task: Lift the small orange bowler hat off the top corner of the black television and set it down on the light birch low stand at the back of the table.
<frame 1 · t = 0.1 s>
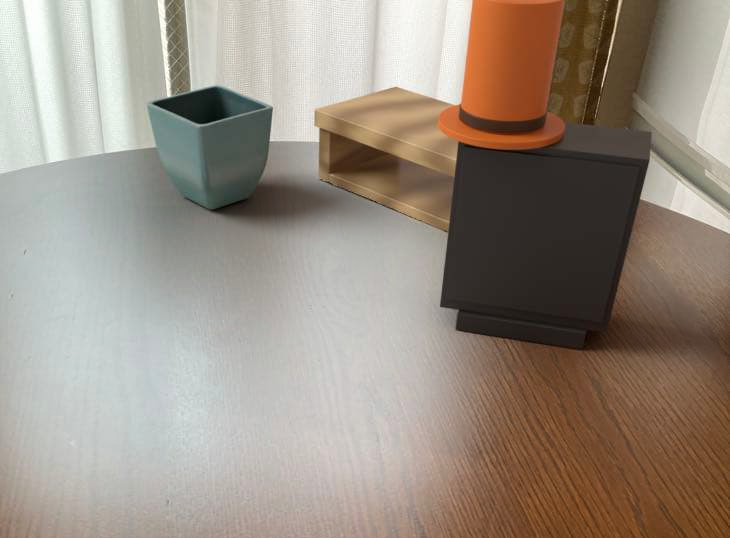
stand: (429, 195, 94), on the table
hat: (500, 128, 66), point 14 cm above the table, touching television
flower pot: (215, 200, 93), on the table
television: (523, 319, 75), on the table
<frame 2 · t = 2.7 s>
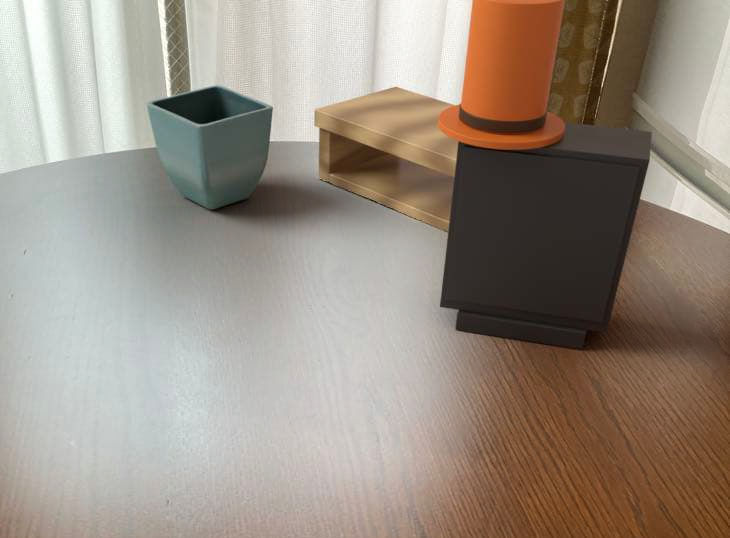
nothing on the table moved.
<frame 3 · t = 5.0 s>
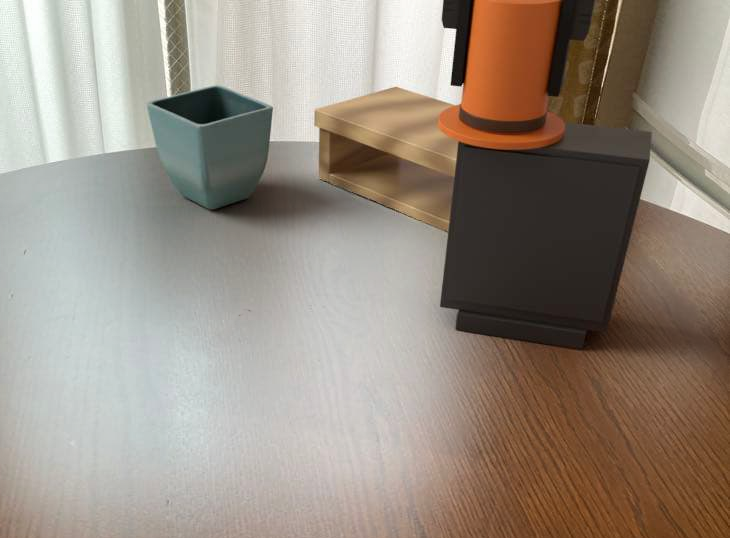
hand: (506, 84, 64), 17 cm above the table, tool pointing down, fingers closed on hat, 6 cm apart
hat: (500, 128, 66), point 15 cm above the table, touching gripper, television
everything else where it was.
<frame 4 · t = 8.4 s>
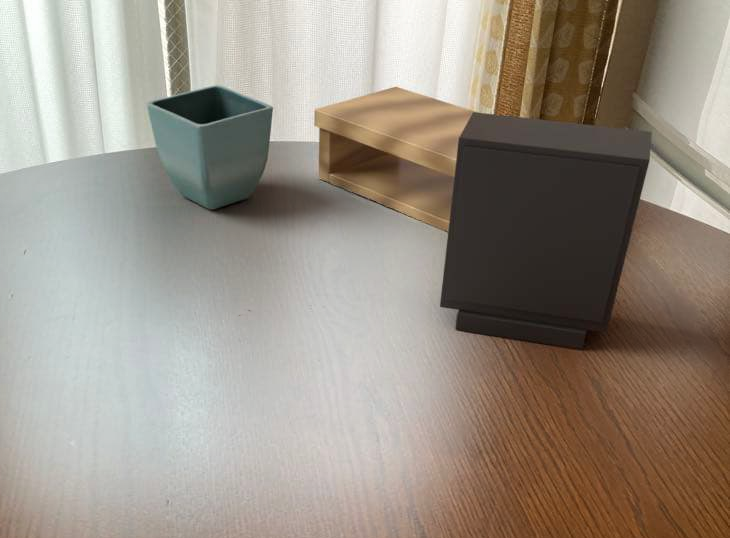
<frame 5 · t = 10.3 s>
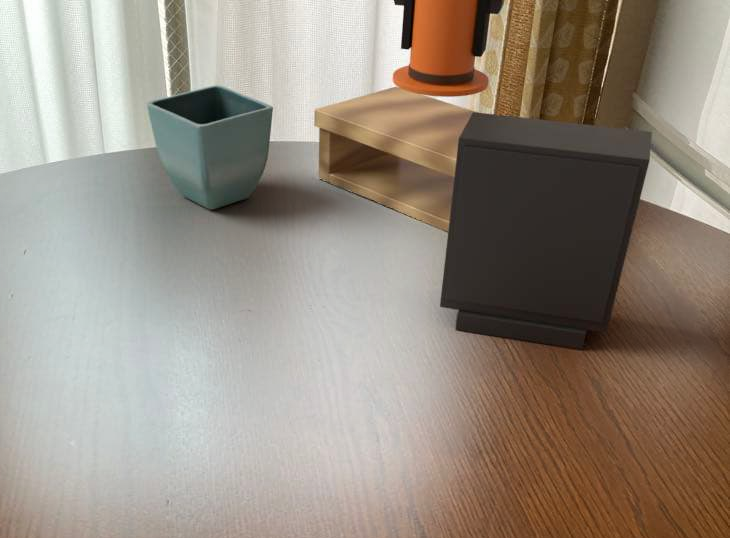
hand: (443, 48, 85), 14 cm above the table, tool pointing down, fingers closed on hat, 6 cm apart
hat: (440, 82, 87), point 11 cm above the table, touching gripper
everything else where it was.
when the fingers open (10 cm above the table, at t = 11.7 s): hat stays where it is, resting on stand.
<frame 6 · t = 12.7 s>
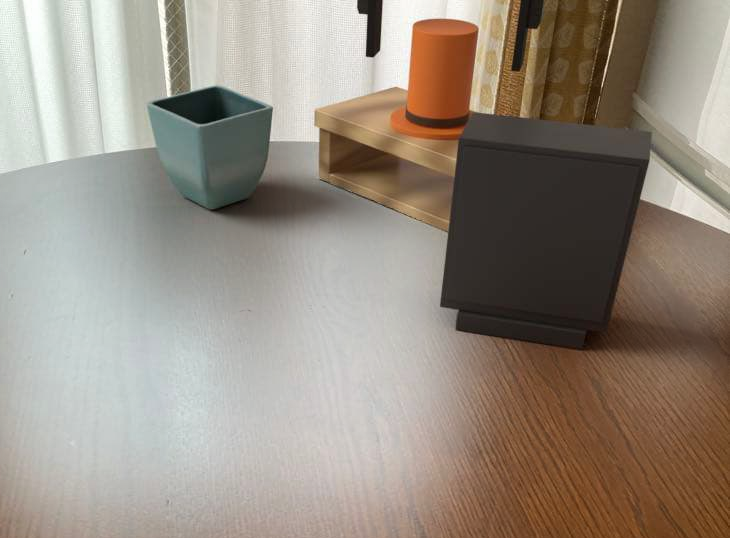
hand: (443, 60, 86), 13 cm above the table, tool pointing down, fingers open, 13 cm apart
hat: (436, 124, 89), point 7 cm above the table, touching stand
everything else where it was.
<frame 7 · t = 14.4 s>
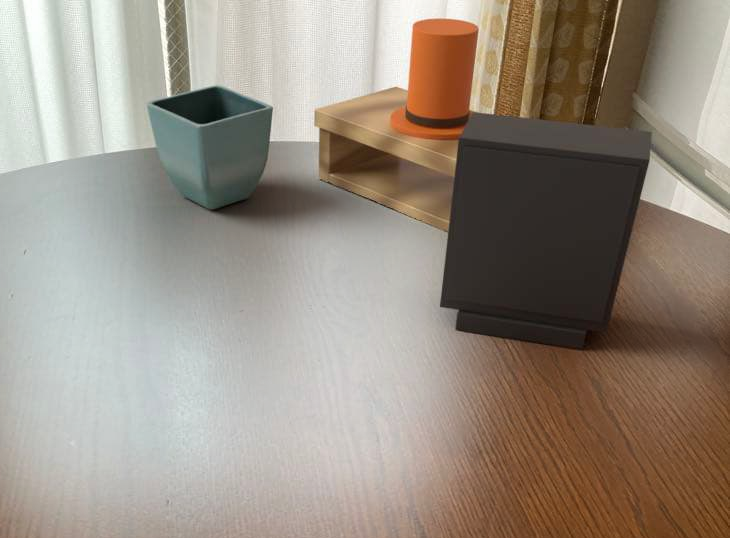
nothing on the table moved.
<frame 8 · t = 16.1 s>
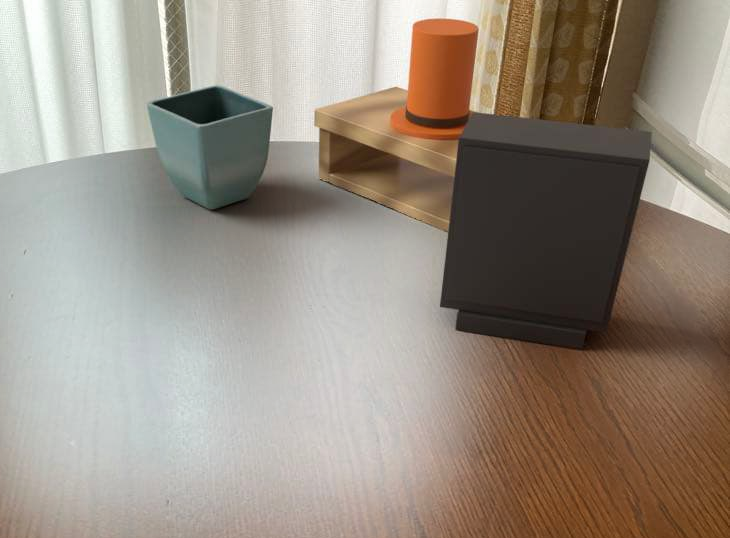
nothing on the table moved.
at the end: hat inside the target area on the stand (0.0 cm from its centre), point 7.0 cm above the stand's base; hat tilted 0°; the gripper is holding nothing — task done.
